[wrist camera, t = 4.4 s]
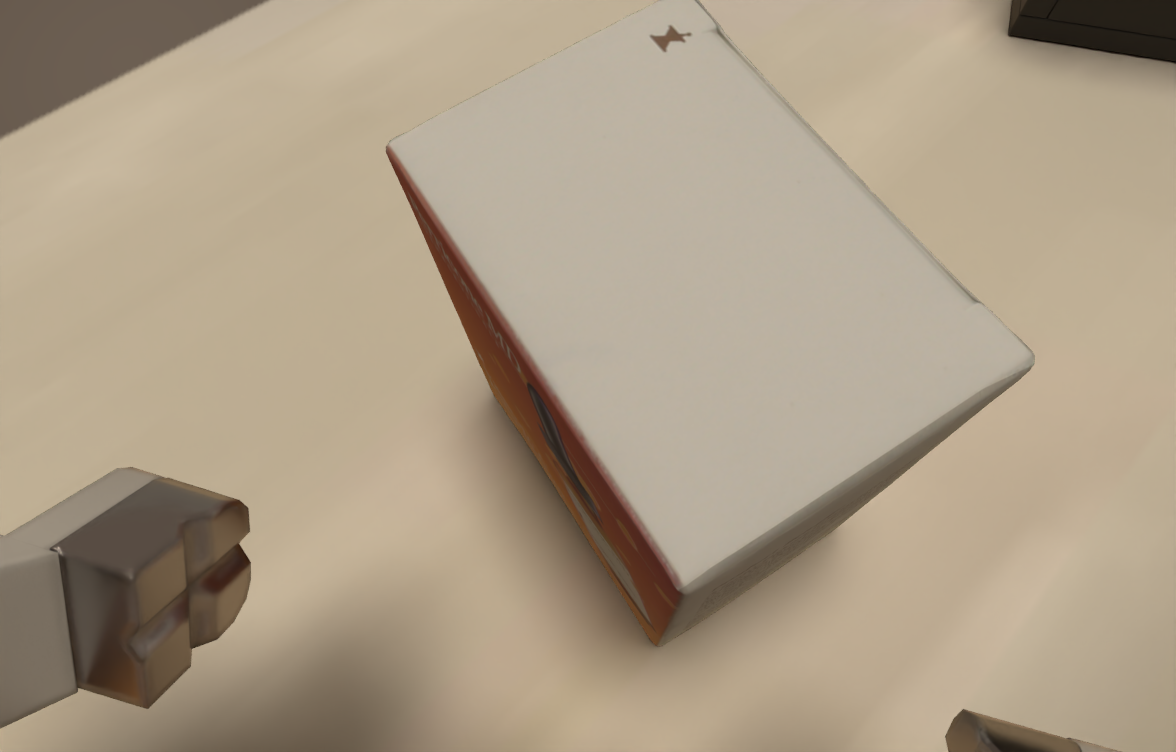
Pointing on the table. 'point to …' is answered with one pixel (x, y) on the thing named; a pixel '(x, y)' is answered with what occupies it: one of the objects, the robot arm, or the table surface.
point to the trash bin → (1100, 24)
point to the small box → (692, 306)
